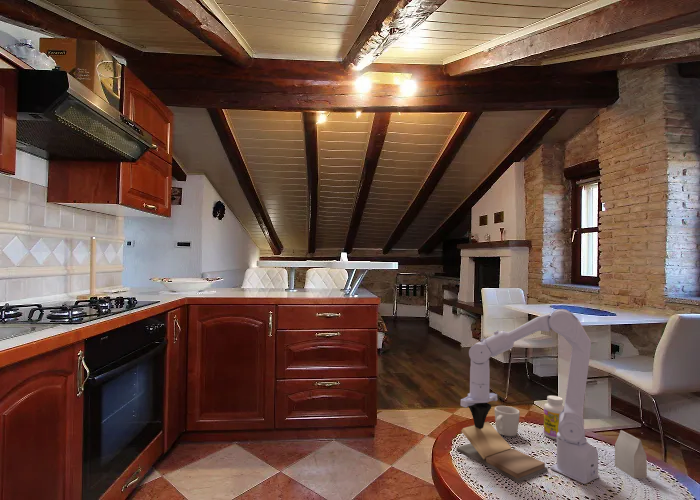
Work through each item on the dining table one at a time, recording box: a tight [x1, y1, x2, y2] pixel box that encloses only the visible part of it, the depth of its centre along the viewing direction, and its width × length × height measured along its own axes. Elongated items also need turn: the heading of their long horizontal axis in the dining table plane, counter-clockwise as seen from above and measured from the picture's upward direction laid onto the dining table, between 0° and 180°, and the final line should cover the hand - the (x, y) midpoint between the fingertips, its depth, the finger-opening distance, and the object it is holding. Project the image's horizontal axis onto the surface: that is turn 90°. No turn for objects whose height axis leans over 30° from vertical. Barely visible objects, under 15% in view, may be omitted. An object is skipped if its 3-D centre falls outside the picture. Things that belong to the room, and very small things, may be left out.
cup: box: [493, 405, 521, 437], centre depth 132 cm, size 11×8×8 cm
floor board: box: [455, 442, 549, 484], centre depth 114 cm, size 21×13×2 cm, turn 32°
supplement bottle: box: [543, 395, 564, 441], centre depth 132 cm, size 7×7×13 cm
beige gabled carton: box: [614, 429, 648, 479], centre depth 109 cm, size 4×7×10 cm, turn 5°
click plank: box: [461, 421, 512, 459], centre depth 118 cm, size 10×12×1 cm
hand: (478, 427), depth 120 cm, fingers closed, pressing on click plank
